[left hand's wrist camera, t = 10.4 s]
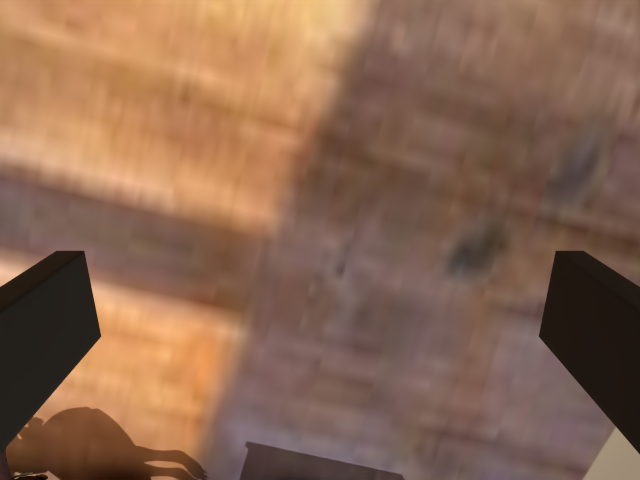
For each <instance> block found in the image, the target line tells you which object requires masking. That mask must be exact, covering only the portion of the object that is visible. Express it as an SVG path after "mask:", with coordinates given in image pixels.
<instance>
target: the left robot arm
mask: <svg viewBox="0 0 640 480" xmlns="http://www.w3.org/2000/svg"><path fill="white" fill-rule="evenodd" d="M100 337H101V333H100V328H99V323H98V318H97V313H96V308H95V303H94V298H93V293H92V288H91V283H90V278H89V273H88V268H87V263H86V258H85V253H84V251H56V252H54V253H53V254H51V255H49V256H48V257H46V258H45V259H43V260H42V261H40V262H39V263H37V264H35V265H34V266H32V267H31V268H29V269H28V270H26V271H25V272H23V273H21V274H20V275H18V276H17V277H15V278H14V279H12V280H11V281H9V282H7V283H6V284H4V285H3V286H1V287H0V454H1V453H2V451H3V450H4V449H5V448H6V447H7V446H8V444H9V443H10V442H11V441H12V440H13V439H14V437H15V436H16V435H17V434H18V433H19V432H20V430H21V429H22V428H23V427H24V426H25V425H26V424H27V422H28V421H29V420H30V419H31V418H32V417H33V415H34V414H35V413H36V412H37V411H38V410H39V408H40V407H41V406H42V405H43V404H44V403H45V401H46V400H47V399H48V398H49V397H50V396H51V394H52V393H53V392H54V391H55V390H56V389H57V387H58V386H59V385H60V384H61V383H62V382H63V380H64V379H65V378H66V377H67V376H68V375H69V373H70V372H71V371H72V370H73V369H74V368H75V366H76V365H77V364H78V363H79V362H80V361H81V359H82V358H83V357H84V356H85V355H86V354H87V352H88V351H89V350H90V349H91V348H92V347H93V345H94V344H95V343H96V342H97V341H98V340H99V338H100ZM539 337H540V338H541V340H542V341H543V342H544V343H545V344H546V345H547V347H548V348H549V349H550V350H551V351H552V352H553V354H554V355H555V356H556V357H557V358H558V359H559V361H560V362H561V363H562V364H563V365H564V366H565V368H566V369H567V370H568V371H569V372H570V373H571V375H572V376H573V377H574V378H575V379H576V380H577V382H578V383H579V384H580V385H581V386H582V387H583V389H584V390H585V391H586V392H587V393H588V394H589V396H590V397H591V398H592V399H593V400H594V401H595V403H596V404H597V405H598V406H599V407H600V408H601V410H602V411H603V412H604V413H605V414H606V415H607V417H608V418H609V419H610V420H611V421H612V422H613V424H614V425H615V426H616V427H617V428H618V429H619V430H620V432H621V433H622V434H623V435H624V436H625V437H626V439H627V440H628V441H629V442H630V443H631V444H632V446H633V447H634V448H635V449H636V450H637V451H638V453H639V454H640V287H639V286H637V285H636V284H634V283H633V282H631V281H629V280H628V279H626V278H625V277H623V276H622V275H620V274H619V273H617V272H615V271H614V270H612V269H611V268H609V267H608V266H606V265H605V264H603V263H601V262H600V261H598V260H597V259H595V258H594V257H592V256H591V255H589V254H587V253H586V252H584V251H556V253H555V258H554V263H553V268H552V273H551V278H550V283H549V288H548V293H547V298H546V303H545V308H544V313H543V318H542V323H541V328H540V333H539Z"/></svg>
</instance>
